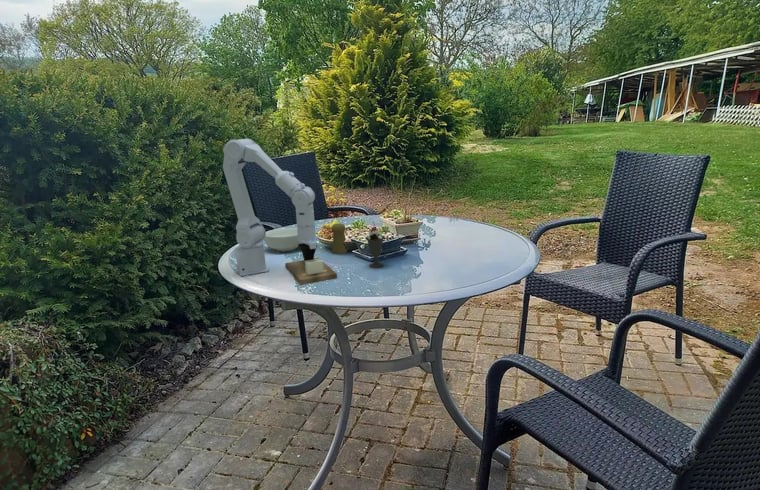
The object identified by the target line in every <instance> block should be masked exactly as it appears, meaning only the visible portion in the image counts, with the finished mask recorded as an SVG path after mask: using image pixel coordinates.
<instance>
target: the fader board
mask: <svg viewBox="0 0 760 490" xmlns="http://www.w3.org/2000/svg"><path fill="white" fill-rule="evenodd" d="M314 259H320V257H316V258H314ZM284 264H285V268H286V269H287V271H288V272H289V273H290V275H292V277H293V278H294V279H295V280H296V282H298V284H299V285H300V286H301V285H306V284H312V283H318V282H323V281H328V280H334V279H338V274H337V272H336V271H334V270H333V269H332V268H331V267H330V266H329V265H328V264H326V263H325V262H324V261H323V272H322V273H316V274H310V275H308V274H307V273H306V269H305V261H304V259H303V260H297V261H291V262H285V263H284Z"/></svg>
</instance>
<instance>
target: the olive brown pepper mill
mask: <svg viewBox="0 0 760 490" xmlns="http://www.w3.org/2000/svg"><path fill="white" fill-rule="evenodd" d="M345 231H346V226H345V224H343V223H333V224H332V226H331V232H332V248H331V253H332V254H333V253H334V255H343V254H347V253H348V252H347V250H348V249H347V250H346V249H345V246H344V245H343V244H342V243H343V242H344V241H345V240H346V236H345V235H346V234H345ZM346 252H347V253H346Z"/></svg>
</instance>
